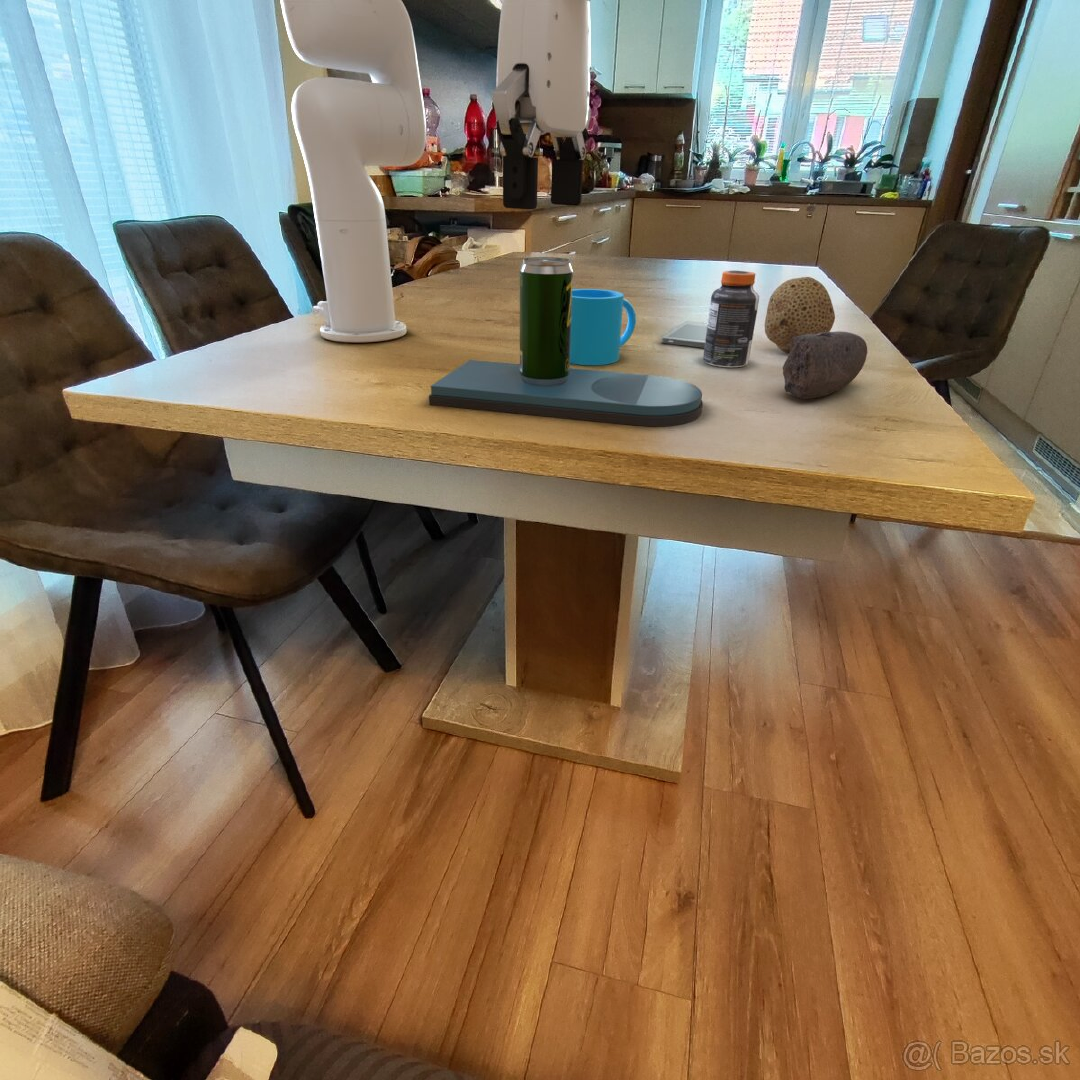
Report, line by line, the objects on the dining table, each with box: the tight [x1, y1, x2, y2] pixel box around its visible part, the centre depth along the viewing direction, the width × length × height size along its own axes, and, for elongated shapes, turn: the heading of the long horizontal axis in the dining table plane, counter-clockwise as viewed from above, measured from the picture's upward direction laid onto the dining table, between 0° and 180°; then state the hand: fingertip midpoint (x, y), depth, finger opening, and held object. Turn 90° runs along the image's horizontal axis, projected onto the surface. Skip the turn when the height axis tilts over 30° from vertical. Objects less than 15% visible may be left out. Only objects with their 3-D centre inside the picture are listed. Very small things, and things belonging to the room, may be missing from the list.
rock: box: [782, 330, 868, 400], centre depth 72 cm, size 15×5×7 cm, turn 127°
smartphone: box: [661, 320, 708, 349], centre depth 98 cm, size 15×8×1 cm, turn 154°
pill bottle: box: [702, 270, 760, 368], centre depth 82 cm, size 6×6×11 cm
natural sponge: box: [764, 276, 836, 353], centre depth 88 cm, size 9×9×10 cm
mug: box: [570, 288, 637, 366], centre depth 85 cm, size 12×8×8 cm
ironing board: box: [428, 359, 704, 427], centre depth 69 cm, size 28×12×2 cm, turn 75°
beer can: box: [519, 256, 574, 386], centre depth 66 cm, size 5×5×12 cm
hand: (544, 206), depth 61 cm, fingers open, 9 cm apart
